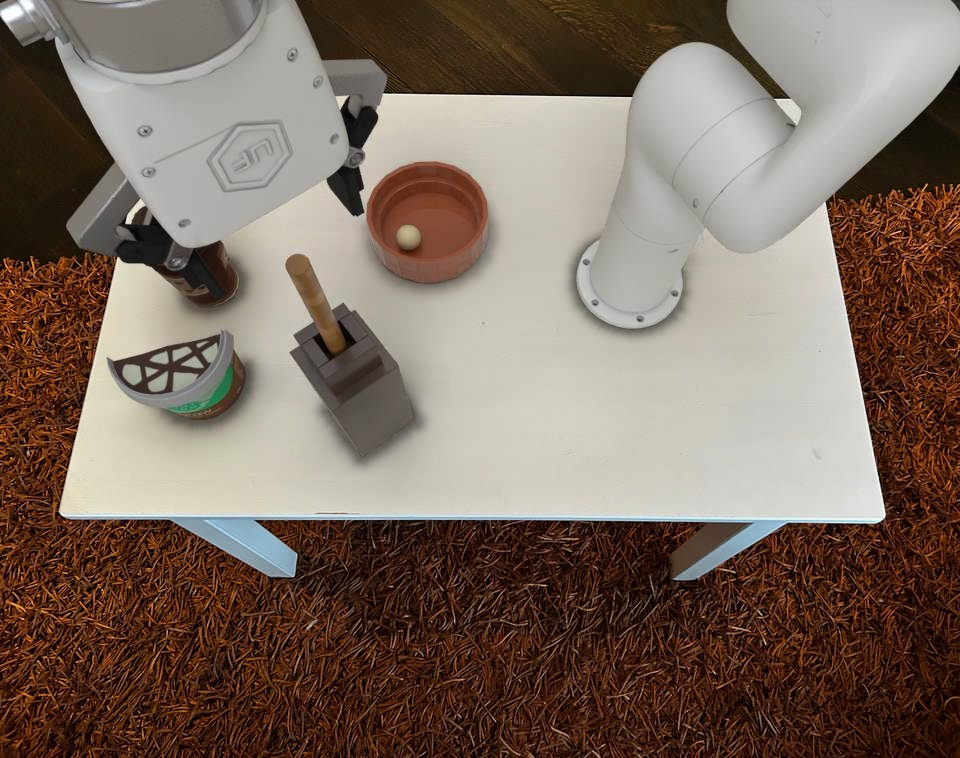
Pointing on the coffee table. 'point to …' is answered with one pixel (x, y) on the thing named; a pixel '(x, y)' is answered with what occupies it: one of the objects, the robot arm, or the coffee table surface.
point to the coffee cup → (216, 263)
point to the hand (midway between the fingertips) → (280, 239)
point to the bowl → (429, 220)
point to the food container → (184, 377)
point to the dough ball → (408, 237)
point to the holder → (356, 381)
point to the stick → (316, 302)
